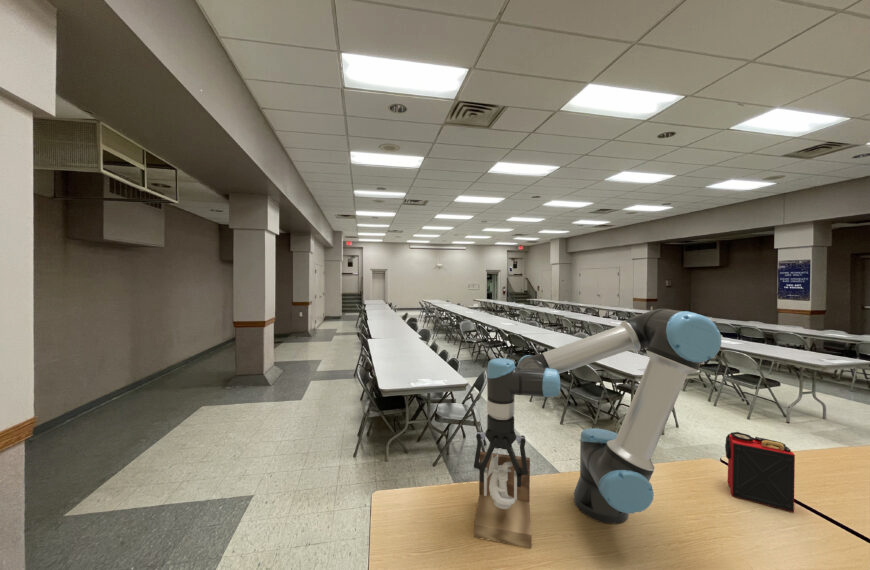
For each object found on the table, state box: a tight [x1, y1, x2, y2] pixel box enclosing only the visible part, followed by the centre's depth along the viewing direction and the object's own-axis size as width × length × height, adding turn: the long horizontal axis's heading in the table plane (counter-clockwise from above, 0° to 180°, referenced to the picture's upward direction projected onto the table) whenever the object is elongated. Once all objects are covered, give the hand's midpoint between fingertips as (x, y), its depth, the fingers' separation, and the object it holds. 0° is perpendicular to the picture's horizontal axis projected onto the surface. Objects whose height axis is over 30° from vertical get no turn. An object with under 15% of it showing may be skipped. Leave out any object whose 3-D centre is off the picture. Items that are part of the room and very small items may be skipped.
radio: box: [724, 431, 796, 513], centre depth 108 cm, size 16×10×20 cm, turn 58°
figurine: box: [486, 451, 515, 509], centre depth 93 cm, size 11×8×12 cm
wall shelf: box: [473, 451, 533, 549], centre depth 95 cm, size 15×15×16 cm
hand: (500, 494), depth 94 cm, fingers closed on figurine, 8 cm apart
